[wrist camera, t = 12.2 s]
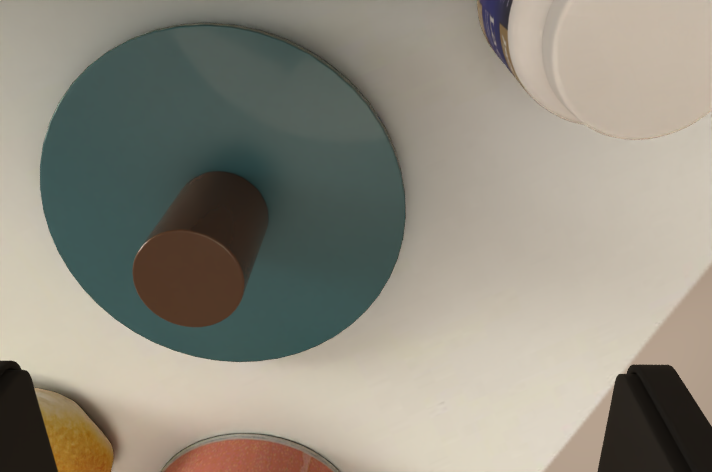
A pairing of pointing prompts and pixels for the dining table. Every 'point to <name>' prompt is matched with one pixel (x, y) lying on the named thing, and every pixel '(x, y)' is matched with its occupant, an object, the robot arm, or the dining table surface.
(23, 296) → the dining table surface
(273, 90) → the lid
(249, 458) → the canned food
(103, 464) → the bread roll
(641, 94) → the pill bottle
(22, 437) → the robot arm
